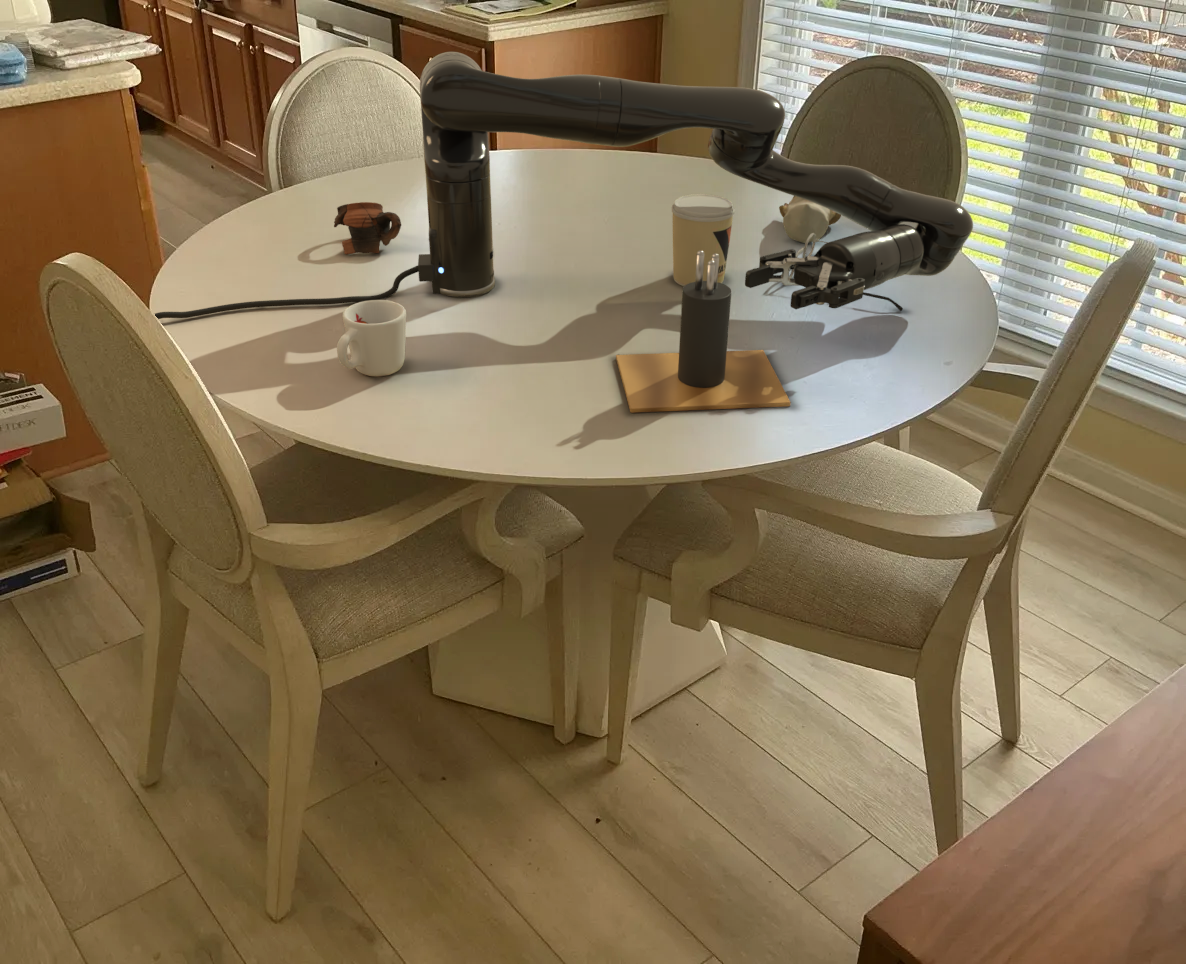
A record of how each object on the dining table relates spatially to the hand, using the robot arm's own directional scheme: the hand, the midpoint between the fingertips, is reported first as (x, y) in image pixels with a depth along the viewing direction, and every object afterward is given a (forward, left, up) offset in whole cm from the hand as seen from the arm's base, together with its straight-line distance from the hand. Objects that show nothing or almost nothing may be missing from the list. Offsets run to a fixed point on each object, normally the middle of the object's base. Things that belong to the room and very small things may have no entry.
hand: (769, 290), depth 148 cm
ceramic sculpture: (+19, +48, -10) cm, 53 cm away
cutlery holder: (-9, -5, -10) cm, 14 cm away
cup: (-51, +1, -10) cm, 52 cm away
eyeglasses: (+21, +27, -10) cm, 36 cm away
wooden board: (-9, -5, -10) cm, 15 cm away
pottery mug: (-54, +47, -10) cm, 73 cm away
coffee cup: (-3, +29, -10) cm, 31 cm away
